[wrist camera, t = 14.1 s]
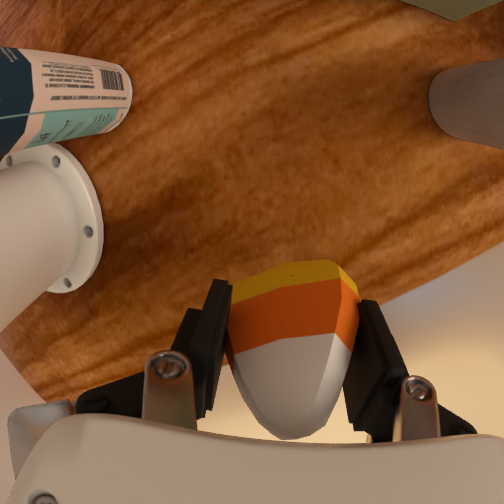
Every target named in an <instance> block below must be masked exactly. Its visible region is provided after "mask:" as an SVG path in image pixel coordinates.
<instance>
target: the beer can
mask: <svg viewBox="0 0 504 504" xmlns="http://www.w3.org/2000/svg"><path fill="white" fill-rule="evenodd" d="M131 100H132V86H131V81H130V78H129V76H128V74H127V73H126V72H125V70H124V69H123V68H121V67H120V66H119V65H117V64H114V63H110V62H106V61H101V60H96V59H91V58H85V57H80V56H74V55H68V54H61V53H54V52H47V51H39V50H30V49H19V48H6V47H0V156H2V155H6V154H9V153H13V152H17V151H20V150H24V149H28V148H32V147H36V146H40V145H45V144H49V143H53V142H58V141H63V140H68V139H73V138H78V137H83V136H89V135H94V134H101V133H106V132H108V131H111V130H112V129H113V128H115V127H116V126H118V125H119V124H120V123H121V121H122V120H123V119H124V118H125V116H126V114H127V112H128V110H129V108H130V105H131Z"/></svg>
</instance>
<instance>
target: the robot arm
mask: <svg viewBox="0 0 504 504" xmlns="http://www.w3.org/2000/svg"><path fill="white" fill-rule="evenodd" d="M103 241H104V232H103V219H102V213H101V207H100V204H99V201H98V198H97V194H96V191H95V189H94V187H93V185H92V182H91V180H90V178H89V176H88V175H87V173H86V171H85V170H84V168H83V167H82V165H81V164H80V162H79V161H78V160H77V159H76V158H75V157H74V156H73V155H72V154H71V153H70V152H69V151H68V150H66V149H65V148H63V147H62V146H61V145H59V144H57V143H54V142H53V143H49V144H45V145H40V146H36V147H32V148H28V149H24V150H20V151H17V152H13V153H9V154H6V155H5V156H4V157H3V158H2V160H1V162H0V332H2V331H3V330H4V329H5V328H6V327H7V326H8V325H9V324H10V323H11V322H12V321H13V320H14V319H15V318H16V317H17V316H18V315H19V314H20V313H21V312H22V311H23V310H25V309H26V308H27V307H28V306H29V305H30V304H31V303H32V302H33V301H34V300H35V299H37V298H38V297H39V296H40V295H41V294H42V293H43V292H44V291H49V292H54V293H67V292H70V291H73V290H76V289H77V288H78V287H80V286H81V285H83V284H84V283H85V282H86V281H87V280H88V279H89V278H90V277H91V276H92V274H93V273H94V271H95V269H96V268H97V266H98V263H99V260H100V257H101V255H102V248H103ZM232 289H233V285H228V281H226V280H219V279H213V282H212V285H211V287H210V290H209V293H208V295H207V298H206V301H205V304H204V306H203V309H202V310H198V309H192V308H188V309H187V311H186V314H185V316H184V318H183V321H182V323H181V325H180V328H179V330H178V332H177V335H176V337H175V339H174V342H173V344H172V347H171V349H170V350H163V351H159V352H156V353H154V354H153V355H151V356H150V357H149V358H148V359H147V361H146V365H145V371H143V372H140V373H138V374H135V375H132V376H129V377H126V378H123V379H120V380H118V381H115V382H112V383H109V384H106V385H103V386H100V387H97V388H94V389H90V390H88V391H86V392H84V393H83V394H82V395H80V396H79V398H78V399H77V401H74V402H70V401H69V399H67V400H62V401H56V402H51V403H45V404H39V405H32V406H26V407H21V408H17V409H15V410H14V411H13V412H12V413H11V414H10V416H9V418H8V432H9V433H8V434H9V443H10V450H11V457H12V464H13V470H14V475H15V480H16V481H15V483H14V485H13V487H12V489H11V491H10V494H9V496H8V499H7V501H6V503H5V504H504V438H501V437H498V436H493V435H487V434H477V431H476V430H475V428H474V427H473V426H472V425H471V424H470V423H468V422H467V421H465V420H463V419H462V418H460V417H459V416H457V415H455V414H454V413H452V412H451V411H449V410H447V409H446V408H444V407H443V406H441V405H439V404H438V403H437V395H436V390H435V388H434V386H433V385H432V384H431V383H430V382H429V381H428V380H427V379H425V378H423V377H420V376H413V375H412V376H409V374H408V371H407V368H406V366H405V364H404V361H403V359H402V356H401V354H400V351H399V349H398V347H397V344H396V342H395V340H394V337H393V336H392V334H391V332H390V330H389V328H388V325H387V323H386V321H385V319H384V316H383V314H382V312H381V310H380V308H379V305H378V303H377V302H376V301H373V300H365V299H363V300H362V301H361V303H360V302H358V303H357V306H358V311H359V317H360V321H359V325H358V330H357V334H356V338H355V342H354V346H353V351H352V354H351V358H350V361H349V365H348V368H347V372H346V375H345V378H344V382H343V385H342V386H343V391H344V397H345V403H346V408H347V414H348V420H349V423H353V429H354V431H365V432H366V433H368V435H367V440H366V443H359V444H358V443H357V444H356V443H355V444H326V443H299V442H284V441H272V440H262V439H253V438H244V437H237V436H229V435H223V434H216V433H210V432H205V431H198V430H197V421H196V420H198V419H200V418H205V414H206V410H210V411H212V408H213V404H214V399H215V395H216V390H217V385H218V381H219V376H220V371H221V367H222V362H223V357H224V353H225V351H224V348H225V339H226V330H227V324H228V319H229V315H230V307H231V298H232Z"/></svg>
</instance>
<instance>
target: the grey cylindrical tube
mask: <svg viewBox="0 0 504 504" xmlns="http://www.w3.org/2000/svg"><path fill="white" fill-rule="evenodd" d="M428 101H429V107H430V111H431V114H432V116H433V118H434V120H435V122H436V123H437V125H438V126H439V127H440V128H441V129H442V130H443V131H444V132H445V133H446V134H448V135H450V136H452V137H454V138H457V139H460V140H465V141H470V142H474V143H478V144H483V145H487V146H491V147H495V148H499V149H503V150H504V58H502V59H496V60H490V61H484V62H479V63H474V64H469V65H464V66H460V67H455V68H451V69H447V70H444V71H442V72H440V73H439V74H437V75H436V76H435V78H434V79H433V80H432V82H431V85H430V88H429V94H428Z"/></svg>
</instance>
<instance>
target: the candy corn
mask: <svg viewBox="0 0 504 504" xmlns="http://www.w3.org/2000/svg"><path fill="white" fill-rule="evenodd" d="M358 302H359V294H358V290H357V286H356V284H355V283H354V282H353V280H352V279H351V278H350V277H349V276H348V275H347V274H346V273H345V272H344V271H343V270H342V269H341V268H340V267H339V266H338V265H337V264H336V263H335V262H333V261H332V260H330V259H319V260H308V261H296V262H285V263H279V264H277V265H275V266H273V267H271V268H269V269H267V270H265V271H263V272H261V273H259V274H257V275H254V276H252V277H249V278H246V279H244V280H241V281H239V282H236V283H235V284H234V285H233V289H232V298H231V307H230V315H229V319H228V324H227V330H226V339H225V348H224V351H225V354H226V357H227V359H228V362H229V365H230V368H231V371H232V374H233V376H234V379H235V381H236V384H237V386H238V388H239V391H240V393H241V395H242V398H243V399H244V401H245V402H246V404H247V406H248V407H249V409H250V410H251V412H252V413H253V415H254V416H255V418H256V420H257V421H258V423H260V424H261V425H262V426H263V427H264V428H265V429H267V430H268V431H269V432H270V433H271V434H273V435H274V436H276V437H277V438H279V439H281V440H293V439H299V438H303V437H307V436H310V435H311V434H313V433H315V432H316V431H318V430H319V429H321V428H322V427H324V426H325V424H326V422H327V421H328V419H329V417H330V415H331V412H332V410H333V408H334V406H335V404H336V402H337V400H338V397H339V394H340V391H341V388H342V385H343V382H344V378H345V375H346V372H347V368H348V365H349V361H350V358H351V354H352V351H353V346H354V342H355V338H356V334H357V330H358V325H359V321H360V317H359V311H358V306H357V303H358Z"/></svg>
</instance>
